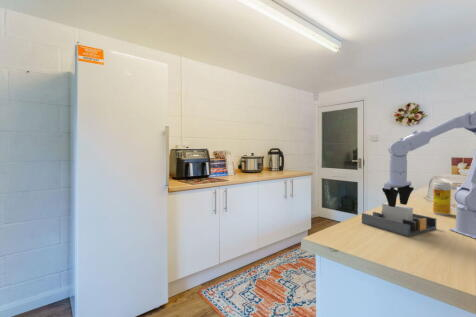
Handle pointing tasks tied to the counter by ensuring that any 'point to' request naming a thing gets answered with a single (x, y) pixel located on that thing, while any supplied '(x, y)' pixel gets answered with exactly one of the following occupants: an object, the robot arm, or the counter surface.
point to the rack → (401, 224)
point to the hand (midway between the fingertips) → (397, 205)
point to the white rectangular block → (397, 212)
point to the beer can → (441, 198)
